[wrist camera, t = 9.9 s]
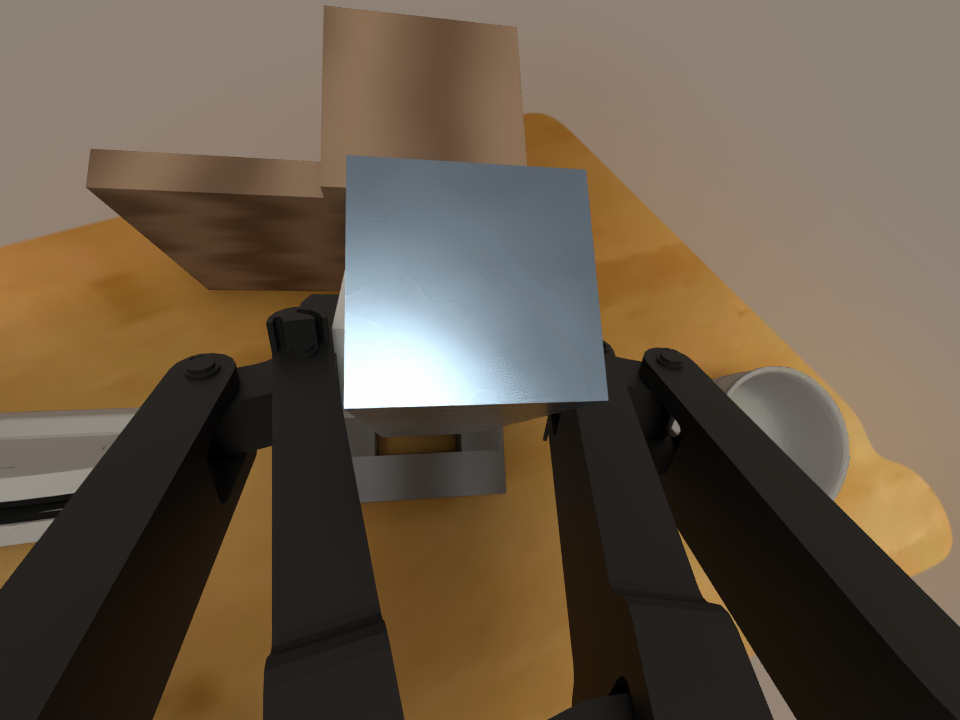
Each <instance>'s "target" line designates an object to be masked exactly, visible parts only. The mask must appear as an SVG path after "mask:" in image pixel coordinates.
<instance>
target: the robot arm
mask: <svg viewBox="0 0 960 720" xmlns="http://www.w3.org/2000/svg"><path fill="white" fill-rule="evenodd" d="M266 325H267V330H268V335H269V340H270V345H271V350H272V359H270V360H268V361H265V362H263V363H259V364H255V365H250V366H244V367H239V368H237V367H236V363H235V362H234V360H233V359H232V358H231V357H229V356H227V355H224V354H216V353H209V354H198V355H196V356H195V355H194V356H191V357H188V358H186V359H184V360H182V361H180V362H178V363H176V364H175V365H174V366H173V367H172V368H171V369H169V371H168V372H167V373H166V375H165V376H164V377H163V378H162V380H161V381H160V382H159V384H158V385H157V386H156V388H155V389H154V390H153V392H152V393H151V394H150V395H149V397H148V398H147V399H146V401H145V402H144V403H143V405H142V406H141V407H140V408H139V410H138V411H137V412H136V414H135V415H134V416H133V418H132V419H131V420H130V421H129V423H128V424H127V425H126V427H125V428H124V429H123V431H122V432H121V433H120V434H119V436H118V437H117V438H116V440H115V441H114V442H113V444H112V445H111V446H110V447H109V449H108V450H107V451H106V453H105V454H104V455H103V457H102V458H101V459H100V461H99V462H98V463H97V464H96V466H95V467H94V468H93V470H92V471H91V472H90V474H89V475H88V476H87V477H86V479H85V480H84V481H83V483H82V484H81V485H80V487H79V488H78V489H77V490H76V492H75V493H74V494H73V496H72V497H71V498H70V500H69V501H68V502H67V503H66V505H65V506H64V507H63V509H62V510H61V511H60V513H59V514H58V515H57V517H56V518H55V519H54V520H53V522H52V523H51V524H50V526H49V527H48V528H47V530H46V531H45V532H44V533H43V535H42V536H41V537H40V539H39V540H38V541H37V543H36V544H35V545H34V546H33V548H32V549H31V550H30V552H29V553H28V554H27V556H26V557H25V558H24V559H23V561H22V562H21V563H20V565H19V566H18V567H17V569H16V570H15V571H14V573H13V574H12V575H11V576H10V578H9V579H8V580H7V582H6V583H5V584H4V586H3V587H2V588H1V589H0V720H152V719H153V717H154V714H155V712H156V709H157V707H158V704H159V702H160V699H161V696H162V694H163V691H164V689H165V686H166V684H167V681H168V679H169V676H170V674H171V671H172V668H173V666H174V663H175V661H176V658H177V656H178V653H179V651H180V648H181V646H182V643H183V640H184V638H185V635H186V633H187V630H188V628H189V625H190V623H191V620H192V618H193V615H194V612H195V610H196V607H197V605H198V602H199V600H200V597H201V595H202V592H203V590H204V587H205V584H206V582H207V579H208V577H209V574H210V572H211V569H212V567H213V564H214V562H215V559H216V557H217V554H218V551H219V549H220V546H221V544H222V541H223V539H224V536H225V534H226V531H227V529H228V526H229V523H230V521H231V518H232V516H233V513H234V511H235V508H236V506H237V503H238V501H239V498H240V495H241V493H242V490H243V488H244V485H245V483H246V480H247V478H248V475H249V473H250V470H251V467H252V465H253V462H254V460H255V457H256V453H257V449H261V448H265V447H269V446H272V648H271V653H270V655H269V656H268V657H267V659H266V664H265V670H264V689H263V720H404V716H403V710H402V705H401V700H400V695H399V690H398V684H397V679H396V674H395V669H394V664H393V658H392V653H391V648H390V643H389V638H388V634H387V629H386V625H385V622H384V620H383V619H382V615H381V611H380V606H379V601H378V595H377V590H376V585H375V579H374V574H373V569H372V563H371V558H370V553H369V547H368V542H367V537H366V531H365V526H364V520H363V515H362V510H361V504H360V499H359V494H358V488H357V483H356V478H355V472H354V467H353V462H352V456H351V451H350V446H349V440H348V435H347V430H346V424H345V419H344V418H356V417H354V416H353V415H352V414H350V413H349V412H348V411H346V410H345V409H344V345H345V272H344V277H343V281H342V285H341V290H340V294H339V295H327V294H312V295H310V296H309V297H308V298H306V299H305V300H304V301H302V302H301V305H300V307H293V308H287V309H283V310H281V311H278V312H275V313H274V314H273V315H271V316H270V317H269V318H268V320H267V322H266ZM603 350H604V360H605V370H606V380H607V391H608V401H605V402H601V403H597V404H593V405H589V406H584V407H580V408H576V409H572V410H568V411H564V412H560V413H555V414H551V415H548V419H547V423H546V428H545V432H544V437H543V441H547V438H548V435H549V441H550V450H551V460H552V469H553V478H554V488H555V497H556V507H557V516H558V525H559V535H560V544H561V553H562V563H563V572H564V581H565V591H566V600H567V609H568V619H569V628H570V637H571V647H572V656H573V666H574V686H573V696H572V707H571V708H569V709H567V710H565V711H563V712H561V713H559V714H557V715H556V716H554V717H552V718H550V719H548V720H774V719H773V717H772V714H771V712H770V709H769V707H768V704H767V702H766V700H765V697H764V695H763V692H762V690H761V687H760V684H759V682H758V680H757V677H756V674H755V672H754V670H753V667H752V665H751V662H750V659H749V657H748V654H747V652H746V649H745V647H744V644H743V642H742V639H741V637H740V634H739V632H738V629H737V627H736V626H735V624H734V622H733V620H732V618H731V616H730V614H729V613H728V612H727V611H726V610H725V609H724V608H723V607H722V606H721V605H718V604H714V603H709V602H707V601H706V600H705V599H704V598H703V597H702V595H701V593H700V590H699V588H698V585H697V583H696V580H695V577H694V574H693V571H692V569H691V566H690V563H689V560H688V557H687V555H686V552H685V549H684V546H683V543H682V541H681V538H680V535H679V532H680V533H681V535H682V537H683V538H684V540H685V541H686V543H687V545H688V546H689V548H690V549H691V551H692V553H693V554H694V556H695V557H696V559H697V561H698V562H699V564H700V565H701V567H702V569H703V570H704V572H705V573H706V575H707V577H708V578H709V580H710V581H711V583H712V585H713V586H714V588H715V589H716V591H717V593H718V594H719V596H720V597H721V599H722V601H723V602H724V604H725V605H726V607H727V609H728V610H729V612H730V613H731V615H732V617H733V618H734V620H735V621H736V623H737V625H738V626H739V628H740V629H741V631H742V633H743V634H744V636H745V637H746V639H747V641H748V642H749V644H750V645H751V647H752V649H753V650H754V652H755V653H756V655H757V657H758V658H759V660H760V661H761V663H762V665H763V666H764V668H765V669H766V671H767V673H768V674H769V676H770V677H771V679H772V681H773V682H774V684H775V686H776V687H777V689H778V690H779V692H780V694H781V695H782V697H783V698H784V700H785V701H786V703H787V705H788V706H789V708H790V709H791V711H792V713H793V714H794V716H795V717H796V719H797V720H960V627H959V626H958V625H957V624H956V623H955V622H954V621H953V620H952V619H951V618H950V617H949V616H948V615H947V614H946V613H945V612H944V611H943V610H942V609H941V608H940V607H939V606H938V605H937V604H936V603H935V602H934V601H933V600H932V599H931V598H930V597H929V596H928V595H927V594H926V593H925V592H924V591H923V590H922V589H921V588H920V587H919V586H918V585H917V584H916V583H915V582H914V581H913V580H912V579H911V578H910V577H909V576H908V575H907V574H906V573H905V572H904V571H903V570H902V569H901V568H900V567H899V566H898V565H897V564H896V563H895V562H894V561H893V560H892V559H891V558H890V557H889V556H888V555H887V554H886V553H885V552H884V551H883V550H882V549H881V548H880V547H879V546H878V545H877V544H876V543H875V542H874V541H873V540H872V539H871V538H870V537H869V536H868V535H867V534H866V533H865V532H864V531H863V530H862V529H861V528H860V527H859V526H858V525H857V524H856V523H855V522H854V521H853V520H852V519H851V518H850V517H849V516H848V515H847V514H846V513H845V512H844V511H843V510H842V509H841V508H840V507H839V506H838V505H837V504H836V503H835V502H834V501H833V500H832V499H831V498H830V497H829V496H828V495H827V494H826V493H825V492H824V491H823V490H822V489H821V488H820V487H819V486H818V485H817V484H816V483H815V482H814V481H813V480H812V479H811V478H810V477H809V476H808V475H807V474H806V473H805V472H804V471H803V470H802V469H801V468H800V467H799V466H798V465H797V464H796V463H795V462H794V461H793V460H792V459H791V458H790V457H789V456H788V455H787V454H786V453H785V452H784V451H783V450H782V449H781V448H780V447H779V446H778V445H777V444H776V443H775V442H774V441H773V440H772V439H771V438H770V437H769V436H768V435H767V434H766V433H765V432H764V431H763V430H762V429H761V428H760V427H759V426H758V425H757V424H756V423H755V422H754V421H753V420H752V419H751V418H750V417H749V416H748V415H747V414H746V413H745V412H744V411H743V410H742V409H741V408H740V407H739V406H738V405H737V404H736V403H735V402H734V401H733V400H732V399H731V398H730V397H729V396H728V395H727V394H726V393H725V392H724V391H723V390H722V389H721V388H720V387H719V386H718V385H717V384H716V383H715V382H714V381H713V380H712V379H711V378H710V377H709V376H708V375H707V374H705V373H704V372H703V371H702V370H701V369H700V368H699V367H698V366H697V365H696V364H695V363H694V362H693V361H692V360H691V359H690V358H689V357H687V356H686V355H684V354H682V353H680V352H678V351H676V350H673V349H672V350H671V349H669V348H652V349H649V350H647V351H646V352H645V353H644V356H643V359H642V362H641V361H635V360H629V359H624V358H619V357H616V356H615V354H614V351H613V349H612V348H611V346H610V345H609V344H608V343H606V342H605V341H603ZM675 420H676V421H677V423H678V425H679V427H680V433H679V434H678V435H677V434H676V433H675V432H674V430H673V429H672V426H673V423H674V421H675ZM678 530H679V532H678Z"/></svg>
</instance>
